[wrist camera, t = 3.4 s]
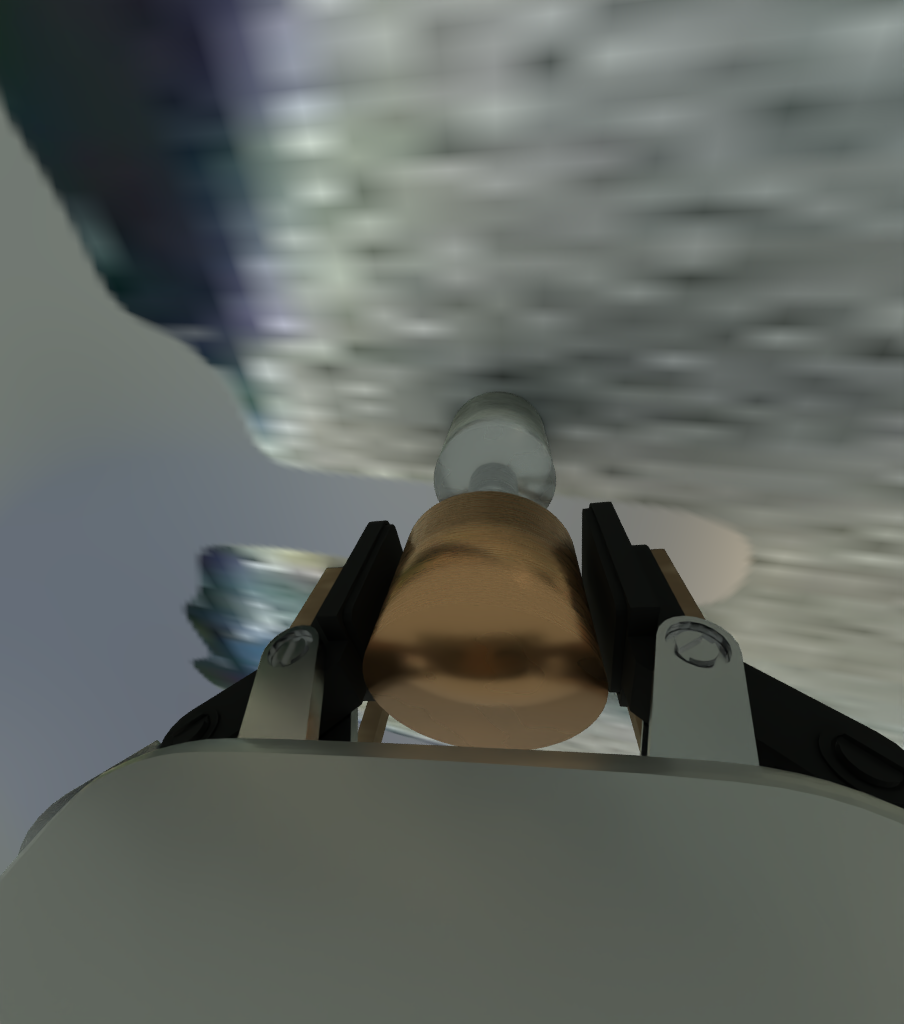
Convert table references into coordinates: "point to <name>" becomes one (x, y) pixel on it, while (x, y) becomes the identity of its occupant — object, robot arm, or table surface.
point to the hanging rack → (378, 717)
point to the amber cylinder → (489, 598)
